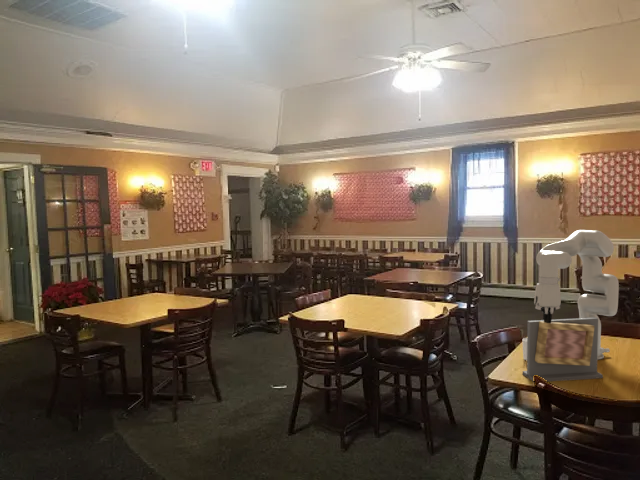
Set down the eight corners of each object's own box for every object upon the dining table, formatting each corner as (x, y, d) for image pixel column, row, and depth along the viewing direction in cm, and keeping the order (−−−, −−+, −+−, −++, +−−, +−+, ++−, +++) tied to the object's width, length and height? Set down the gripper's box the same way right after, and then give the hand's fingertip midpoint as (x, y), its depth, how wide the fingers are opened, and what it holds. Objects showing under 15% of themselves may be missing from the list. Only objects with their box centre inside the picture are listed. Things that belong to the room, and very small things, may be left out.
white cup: (541, 362, 242) (541, 342, 241) (523, 361, 244) (524, 341, 243) (537, 357, 250) (537, 337, 249) (520, 356, 251) (520, 337, 250)
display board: (588, 370, 229) (589, 315, 227) (602, 378, 219) (603, 320, 217) (522, 374, 227) (523, 318, 224) (533, 382, 217) (534, 324, 215)
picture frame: (585, 363, 222) (590, 324, 221) (589, 365, 219) (594, 326, 218) (534, 360, 220) (539, 321, 218) (538, 362, 217) (542, 322, 215)
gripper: (559, 279, 220) (558, 319, 221) (527, 280, 219) (526, 320, 220) (569, 281, 213) (568, 323, 214) (536, 282, 211) (535, 324, 213)
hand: (547, 322), depth 217 cm, fingers closed
